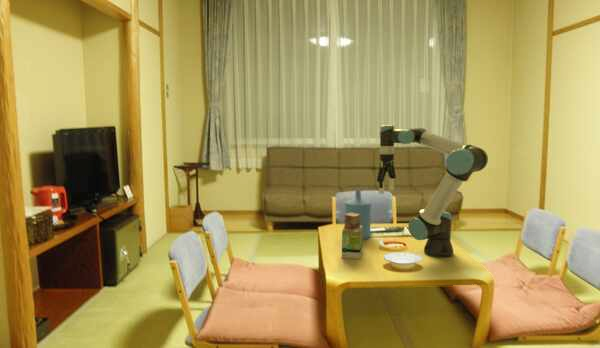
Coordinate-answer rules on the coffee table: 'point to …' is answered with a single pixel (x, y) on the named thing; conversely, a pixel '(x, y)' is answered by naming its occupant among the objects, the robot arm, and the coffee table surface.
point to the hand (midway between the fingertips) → (386, 192)
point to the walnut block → (352, 221)
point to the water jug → (360, 212)
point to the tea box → (352, 242)
